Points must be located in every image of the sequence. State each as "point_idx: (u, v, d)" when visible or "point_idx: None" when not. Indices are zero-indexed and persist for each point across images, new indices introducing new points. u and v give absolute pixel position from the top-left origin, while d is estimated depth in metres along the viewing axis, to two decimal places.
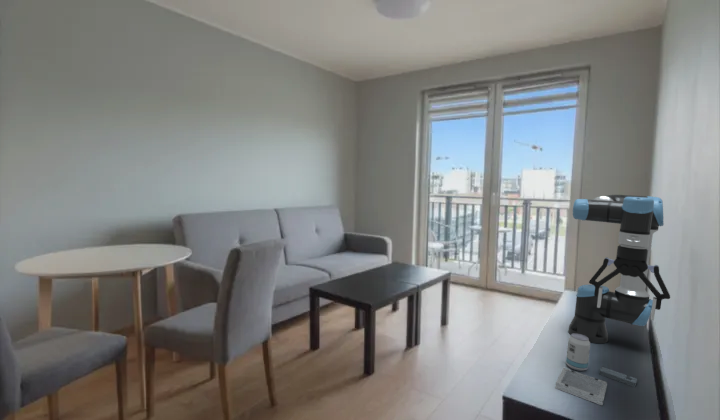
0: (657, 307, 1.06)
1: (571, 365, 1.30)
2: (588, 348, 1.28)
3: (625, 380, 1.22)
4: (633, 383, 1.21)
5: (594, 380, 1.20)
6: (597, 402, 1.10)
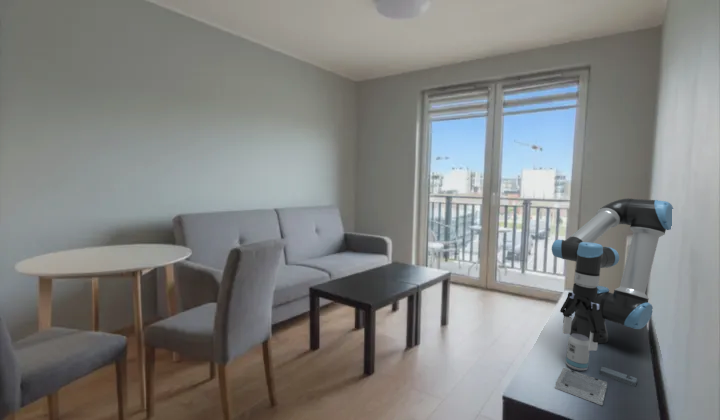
0: (593, 340, 1.22)
1: (571, 365, 1.30)
2: None
3: (625, 380, 1.22)
4: (633, 383, 1.21)
5: (594, 380, 1.20)
6: (597, 402, 1.10)
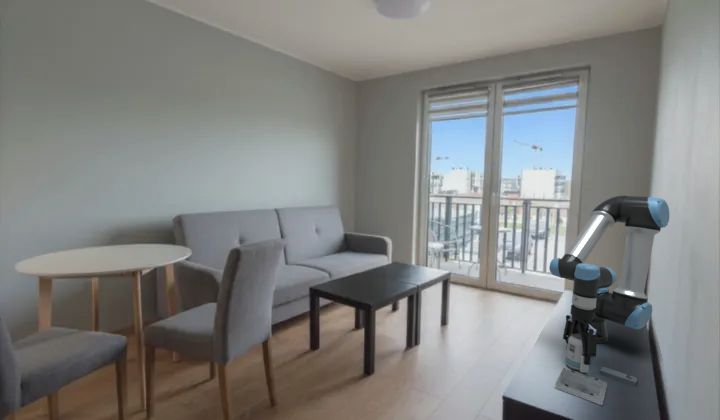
0: (584, 362, 1.26)
1: (571, 365, 1.30)
2: None
3: (626, 379, 1.23)
4: (634, 382, 1.21)
5: (594, 380, 1.20)
6: (597, 402, 1.10)
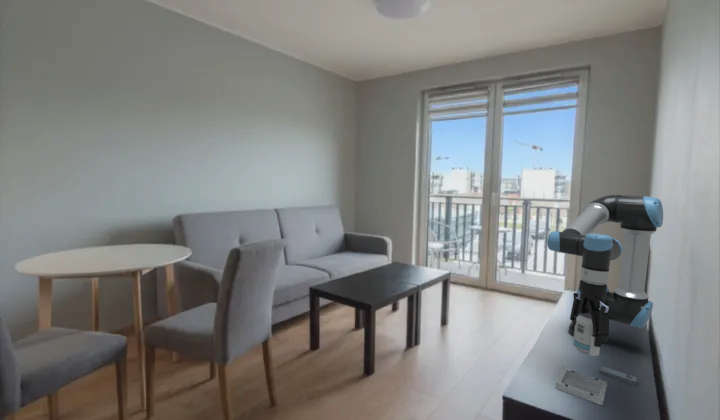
0: (595, 344, 1.12)
1: (579, 348, 1.15)
2: None
3: (626, 379, 1.23)
4: (634, 382, 1.21)
5: (594, 380, 1.20)
6: (597, 402, 1.10)
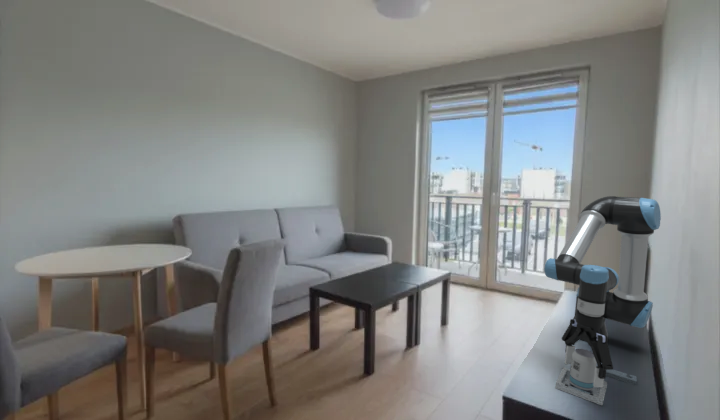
0: (599, 375, 1.10)
1: (575, 384, 1.16)
2: (594, 366, 1.14)
3: (626, 379, 1.23)
4: (634, 381, 1.22)
5: None
6: (597, 402, 1.10)
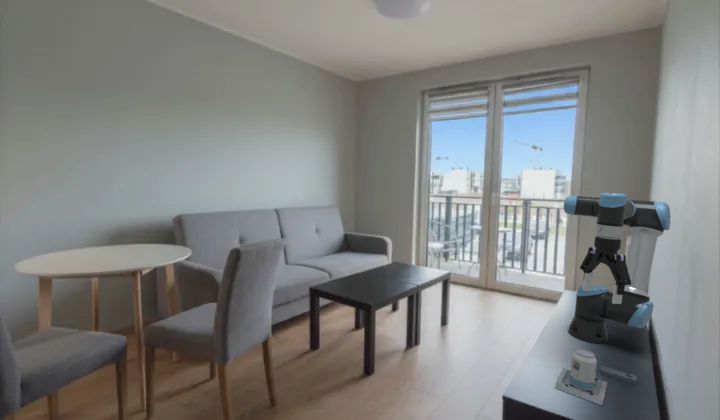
0: (618, 292, 1.17)
1: (575, 384, 1.16)
2: (594, 366, 1.14)
3: (627, 378, 1.23)
4: (634, 381, 1.22)
5: None
6: (597, 402, 1.10)
